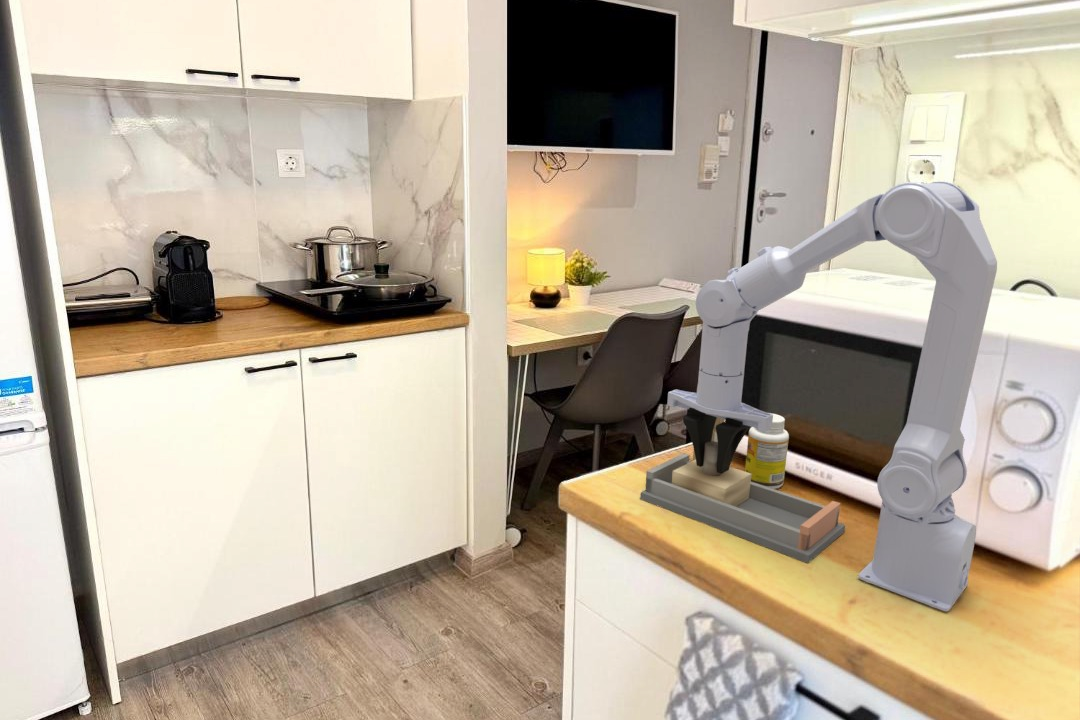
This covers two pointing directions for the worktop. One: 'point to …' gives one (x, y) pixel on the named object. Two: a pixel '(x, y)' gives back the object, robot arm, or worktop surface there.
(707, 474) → the beige knobbed block
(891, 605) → the worktop surface
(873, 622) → the worktop surface
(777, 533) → the tray
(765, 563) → the worktop surface
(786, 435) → the supplement bottle
